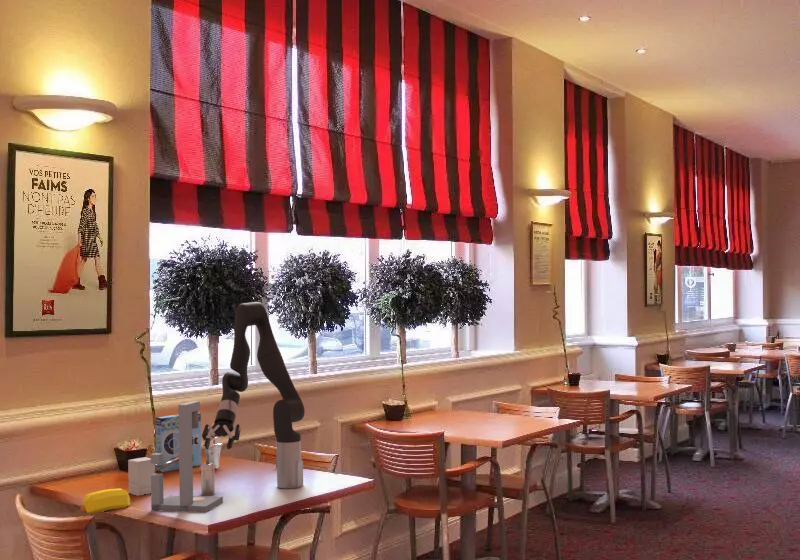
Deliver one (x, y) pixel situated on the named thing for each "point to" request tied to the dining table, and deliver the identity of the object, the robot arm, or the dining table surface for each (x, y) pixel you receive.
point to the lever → (167, 464)
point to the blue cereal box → (175, 440)
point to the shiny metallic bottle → (207, 479)
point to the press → (182, 469)
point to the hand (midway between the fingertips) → (217, 448)
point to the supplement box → (140, 475)
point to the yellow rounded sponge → (105, 500)
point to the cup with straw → (214, 451)
